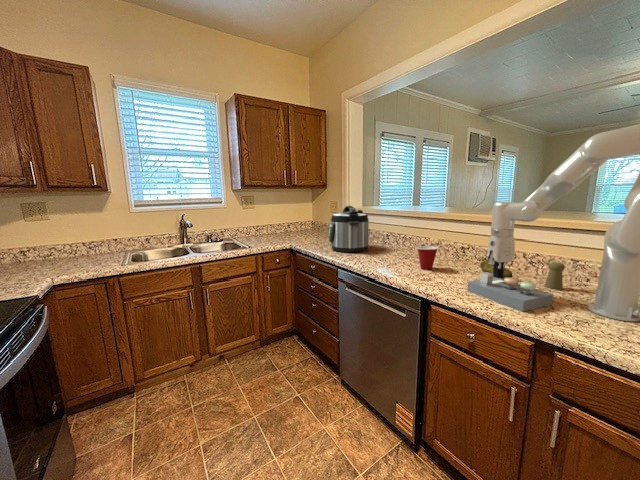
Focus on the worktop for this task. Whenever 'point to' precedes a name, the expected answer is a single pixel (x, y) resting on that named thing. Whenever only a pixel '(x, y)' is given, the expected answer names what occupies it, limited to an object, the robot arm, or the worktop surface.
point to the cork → (555, 276)
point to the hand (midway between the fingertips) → (497, 277)
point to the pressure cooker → (349, 230)
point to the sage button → (527, 287)
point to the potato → (489, 268)
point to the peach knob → (510, 282)
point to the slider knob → (486, 278)
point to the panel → (510, 295)
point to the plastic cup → (426, 256)
